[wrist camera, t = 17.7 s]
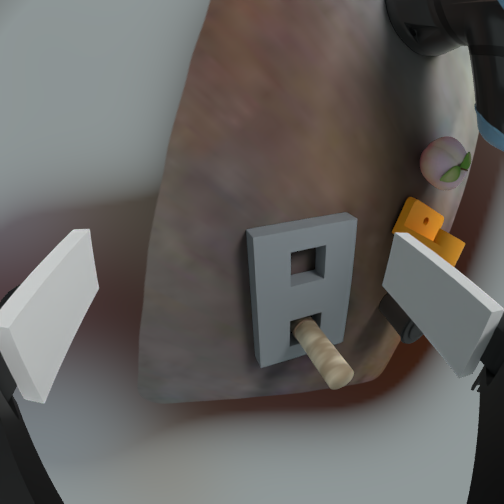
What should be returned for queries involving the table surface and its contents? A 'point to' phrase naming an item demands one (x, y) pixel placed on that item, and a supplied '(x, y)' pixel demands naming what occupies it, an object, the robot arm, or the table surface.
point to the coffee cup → (399, 320)
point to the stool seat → (299, 282)
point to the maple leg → (321, 352)
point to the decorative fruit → (445, 163)
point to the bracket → (428, 230)
